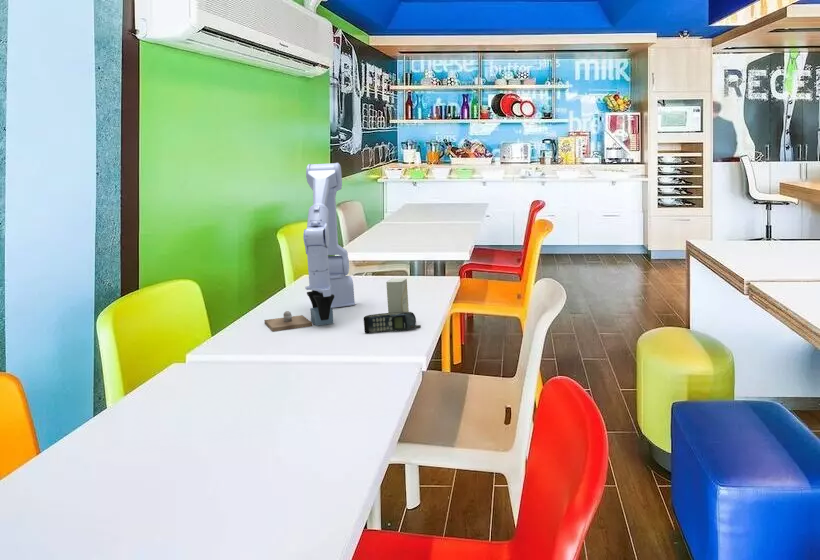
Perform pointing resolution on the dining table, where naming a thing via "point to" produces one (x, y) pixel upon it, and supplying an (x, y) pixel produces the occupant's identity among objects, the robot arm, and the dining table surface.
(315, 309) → the slate blue cube
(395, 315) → the mobile phone
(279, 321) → the board
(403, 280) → the skincare box
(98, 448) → the dining table surface
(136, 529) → the dining table surface
